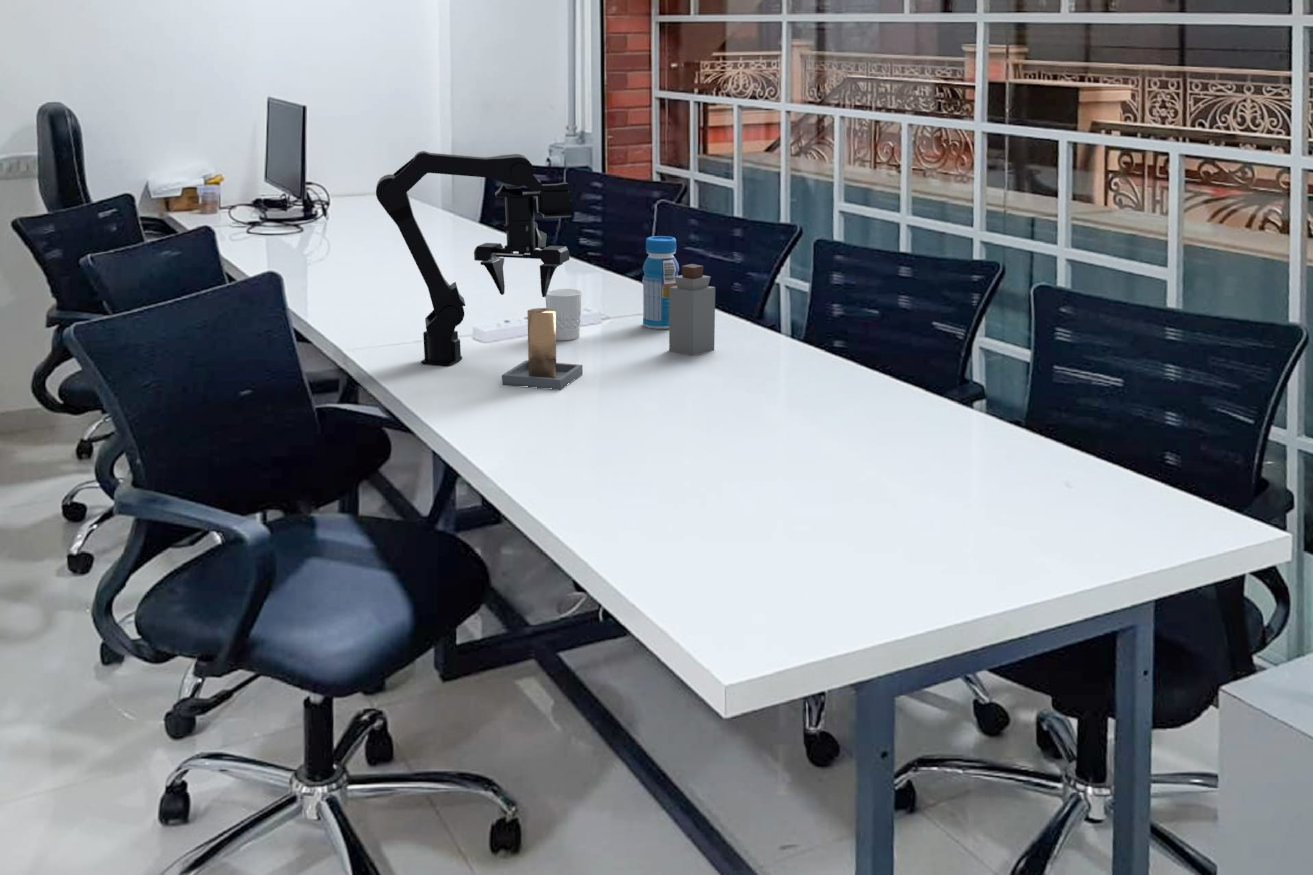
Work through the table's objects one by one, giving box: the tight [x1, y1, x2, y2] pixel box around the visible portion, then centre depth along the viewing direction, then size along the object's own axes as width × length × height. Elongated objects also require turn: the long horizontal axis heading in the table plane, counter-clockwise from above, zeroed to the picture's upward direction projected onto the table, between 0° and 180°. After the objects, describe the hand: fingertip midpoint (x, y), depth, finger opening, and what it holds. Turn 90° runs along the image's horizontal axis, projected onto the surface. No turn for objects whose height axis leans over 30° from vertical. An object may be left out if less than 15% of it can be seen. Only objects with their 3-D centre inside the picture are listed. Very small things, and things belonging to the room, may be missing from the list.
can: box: [527, 307, 557, 378], centre depth 267 cm, size 5×5×13 cm
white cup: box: [544, 288, 582, 341], centre depth 302 cm, size 8×8×10 cm
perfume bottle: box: [668, 263, 716, 357], centre depth 290 cm, size 7×7×18 cm
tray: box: [501, 359, 584, 391], centre depth 269 cm, size 12×12×2 cm
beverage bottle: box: [641, 235, 680, 330], centre depth 311 cm, size 8×8×20 cm
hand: (523, 295), depth 281 cm, fingers open, 9 cm apart
